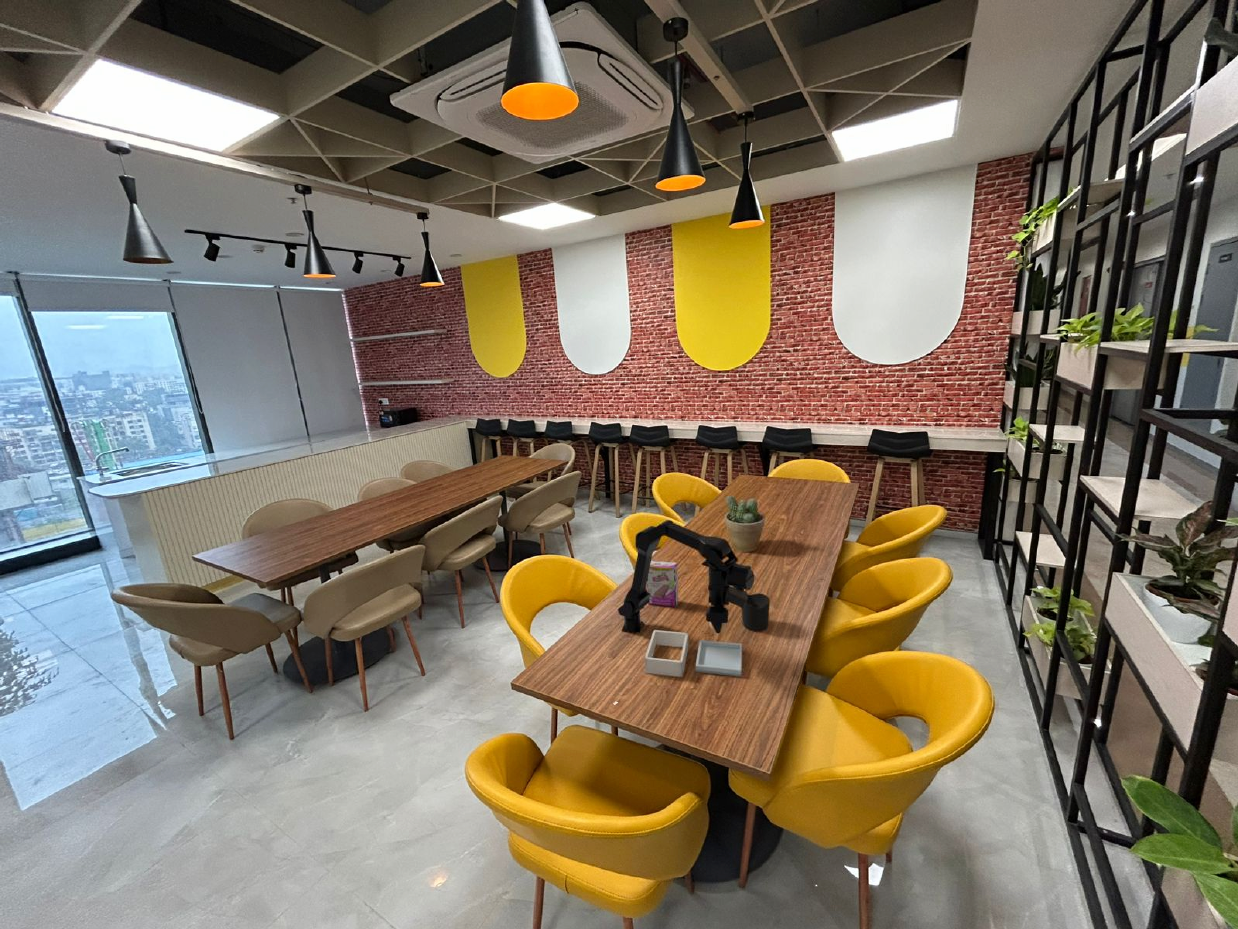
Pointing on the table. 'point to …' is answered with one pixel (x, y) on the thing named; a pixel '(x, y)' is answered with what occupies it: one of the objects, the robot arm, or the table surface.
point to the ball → (723, 628)
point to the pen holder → (756, 612)
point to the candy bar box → (663, 583)
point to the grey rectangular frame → (663, 664)
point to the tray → (719, 658)
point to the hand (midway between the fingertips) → (718, 627)
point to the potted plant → (744, 524)
